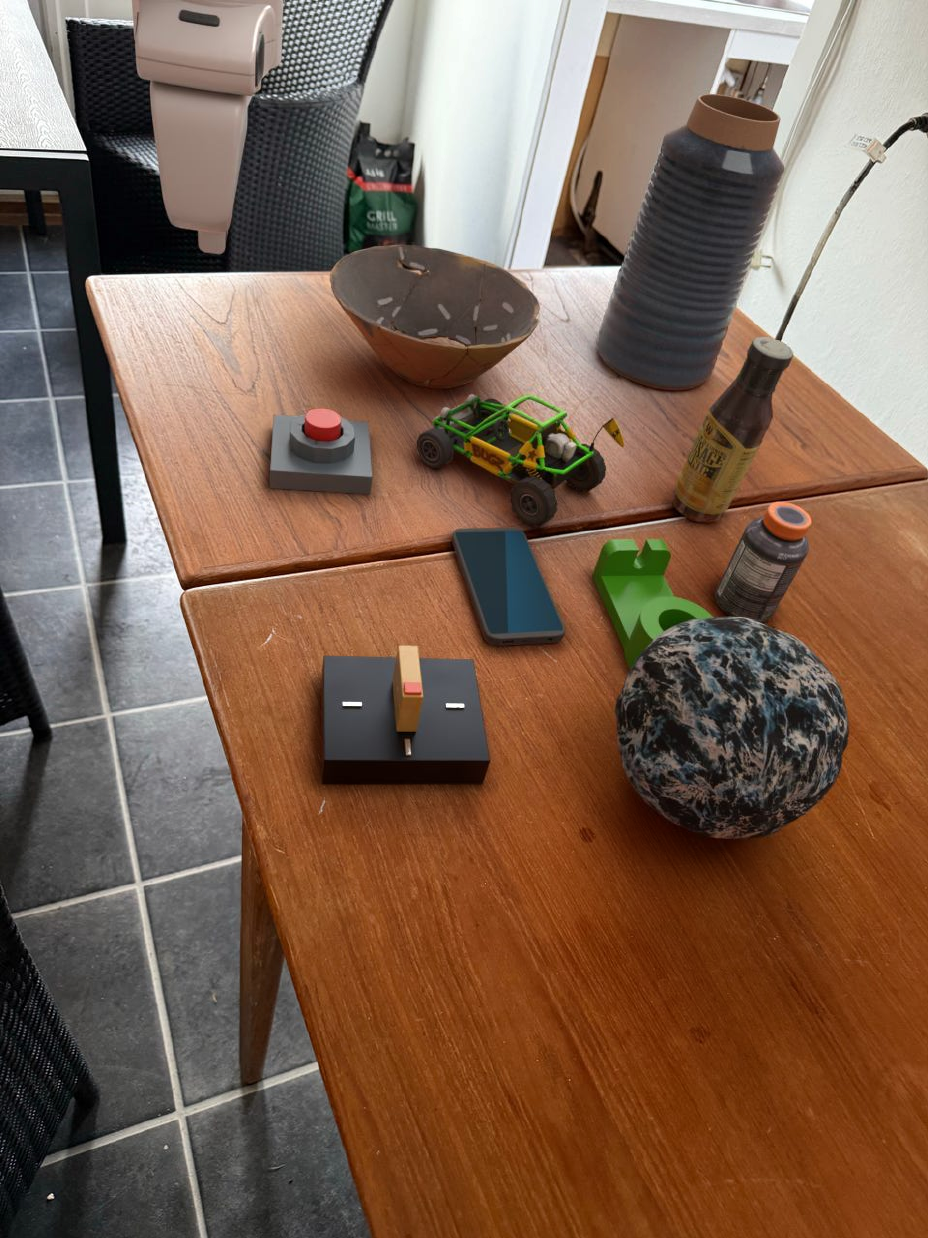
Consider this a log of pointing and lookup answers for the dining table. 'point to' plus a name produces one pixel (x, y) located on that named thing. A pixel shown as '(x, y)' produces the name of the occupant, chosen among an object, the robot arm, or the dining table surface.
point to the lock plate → (366, 724)
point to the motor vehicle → (517, 451)
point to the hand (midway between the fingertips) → (213, 245)
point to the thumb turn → (407, 689)
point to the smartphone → (507, 587)
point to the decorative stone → (730, 727)
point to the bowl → (434, 311)
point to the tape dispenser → (640, 593)
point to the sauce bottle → (731, 434)
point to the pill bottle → (764, 563)
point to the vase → (692, 244)
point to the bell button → (322, 425)
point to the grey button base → (320, 458)
